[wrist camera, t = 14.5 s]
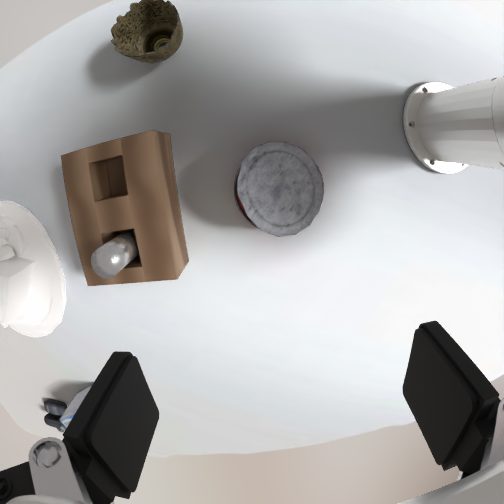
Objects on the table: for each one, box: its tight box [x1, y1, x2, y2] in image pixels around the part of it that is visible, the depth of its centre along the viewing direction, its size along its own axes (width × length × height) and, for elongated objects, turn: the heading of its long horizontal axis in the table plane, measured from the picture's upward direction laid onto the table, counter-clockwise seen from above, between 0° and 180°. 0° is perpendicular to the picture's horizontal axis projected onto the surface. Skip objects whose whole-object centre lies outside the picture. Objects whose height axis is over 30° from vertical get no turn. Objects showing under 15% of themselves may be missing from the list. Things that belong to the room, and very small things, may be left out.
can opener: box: [44, 400, 67, 432], centre depth 47 cm, size 18×7×6 cm, turn 89°
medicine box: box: [60, 385, 92, 427], centre depth 43 cm, size 8×4×9 cm, turn 125°
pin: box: [91, 228, 139, 279], centre depth 31 cm, size 3×3×9 cm
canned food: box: [234, 142, 324, 237], centre depth 32 cm, size 11×10×10 cm
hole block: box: [61, 130, 189, 286], centre depth 33 cm, size 12×16×6 cm
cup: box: [111, 0, 183, 63], centre depth 26 cm, size 8×7×8 cm
